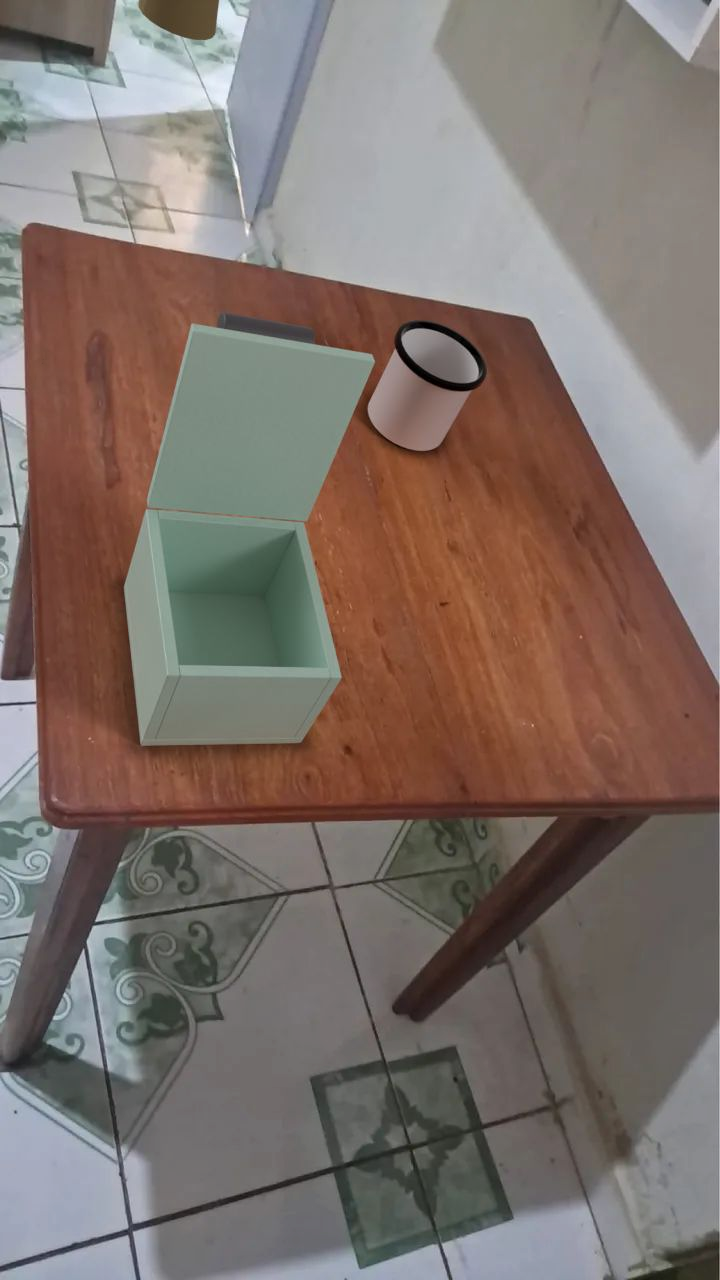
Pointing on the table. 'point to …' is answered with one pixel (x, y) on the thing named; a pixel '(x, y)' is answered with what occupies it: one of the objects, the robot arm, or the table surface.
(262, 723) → the light green open box
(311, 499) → the lid
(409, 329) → the mug
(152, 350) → the table surface
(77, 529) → the table surface
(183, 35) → the brown pawn
